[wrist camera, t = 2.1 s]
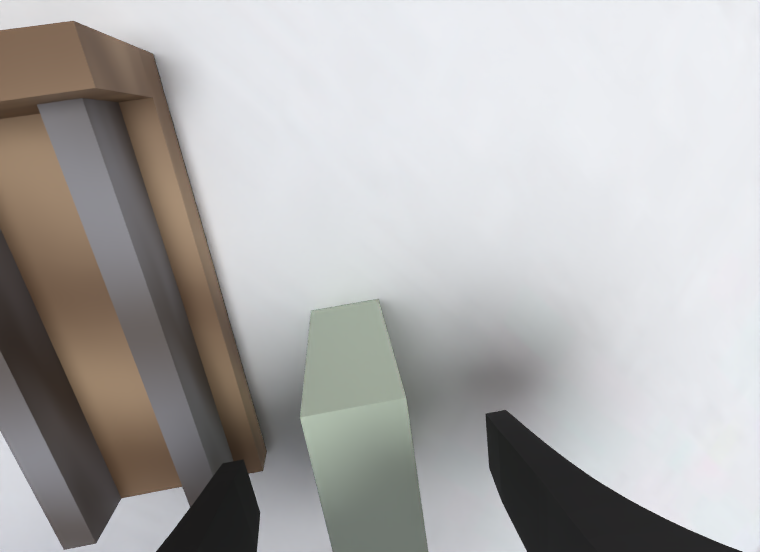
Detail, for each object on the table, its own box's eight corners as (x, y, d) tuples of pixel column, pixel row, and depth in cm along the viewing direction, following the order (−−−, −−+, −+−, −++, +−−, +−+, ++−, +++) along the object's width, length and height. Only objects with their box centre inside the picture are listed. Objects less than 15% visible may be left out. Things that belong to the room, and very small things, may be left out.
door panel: (402, 455, 18) (436, 607, 12) (344, 466, 18) (351, 626, 12) (378, 298, 15) (406, 397, 10) (310, 310, 15) (300, 417, 10)
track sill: (266, 451, 17) (248, 545, 13) (82, 486, 16) (9, 593, 13) (153, 53, 12) (73, 21, 8) (-110, 89, 12) (-317, 72, 8)
